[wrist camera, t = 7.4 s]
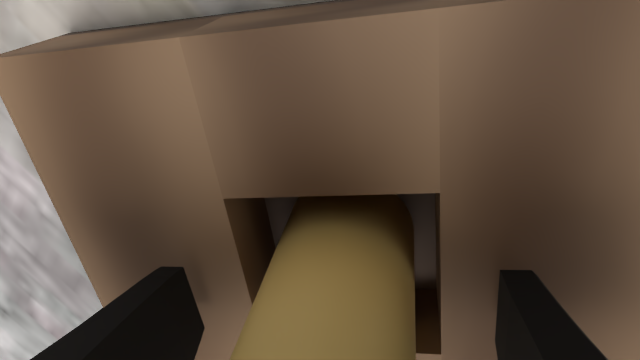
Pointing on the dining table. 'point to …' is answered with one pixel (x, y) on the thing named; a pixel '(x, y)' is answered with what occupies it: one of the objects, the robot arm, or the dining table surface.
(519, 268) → the bore block
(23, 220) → the dining table surface
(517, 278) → the robot arm
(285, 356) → the pin
